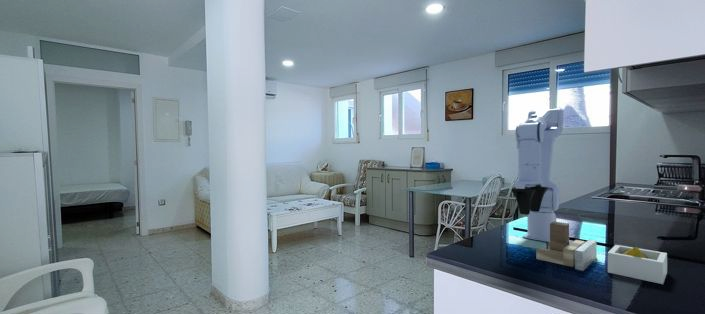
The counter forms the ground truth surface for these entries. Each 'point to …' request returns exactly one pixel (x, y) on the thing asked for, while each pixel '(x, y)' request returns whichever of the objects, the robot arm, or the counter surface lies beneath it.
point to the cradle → (560, 254)
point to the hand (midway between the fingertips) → (529, 212)
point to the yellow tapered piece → (634, 253)
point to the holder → (638, 264)
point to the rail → (585, 255)
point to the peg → (559, 236)
